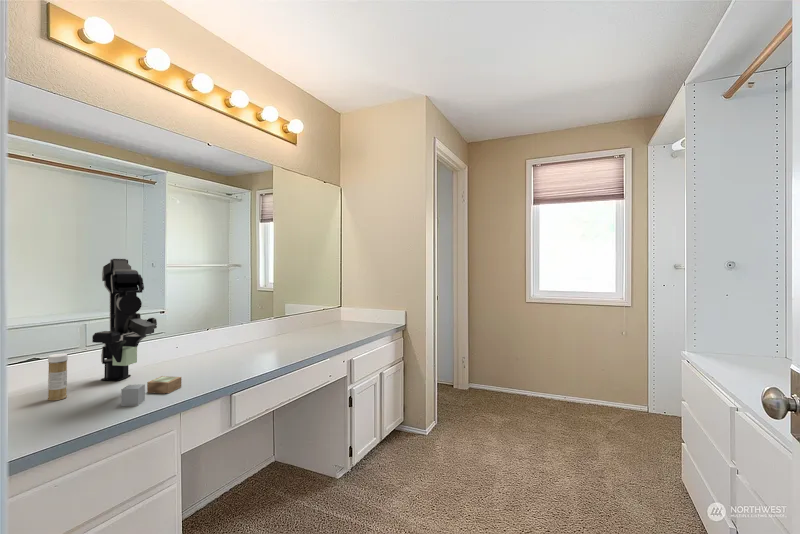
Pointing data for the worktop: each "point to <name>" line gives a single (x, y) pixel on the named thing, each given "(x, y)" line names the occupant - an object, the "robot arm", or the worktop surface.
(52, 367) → the sprinkles bottle
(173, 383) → the base block
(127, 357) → the sage block
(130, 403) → the slate block
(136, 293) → the robot arm
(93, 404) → the worktop surface
